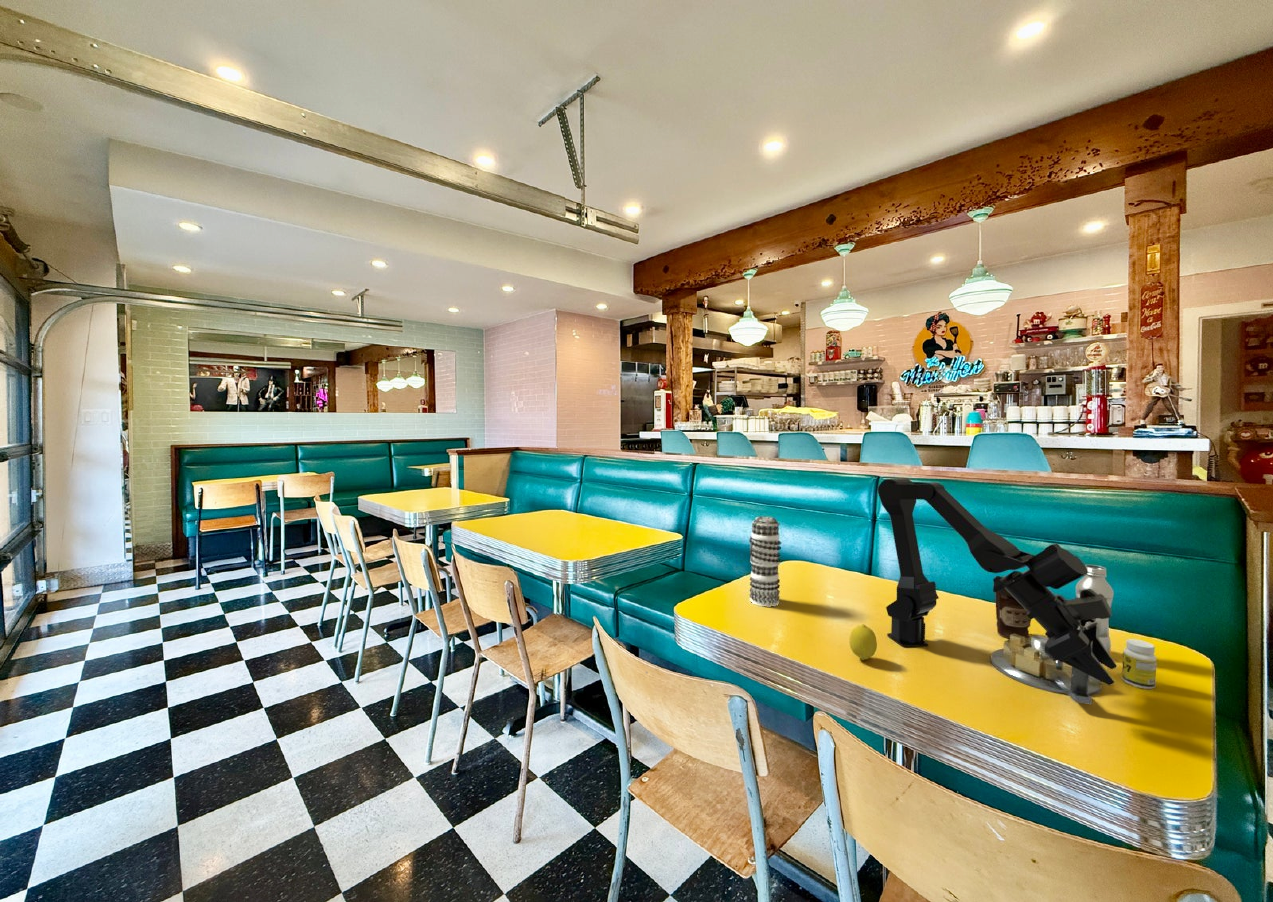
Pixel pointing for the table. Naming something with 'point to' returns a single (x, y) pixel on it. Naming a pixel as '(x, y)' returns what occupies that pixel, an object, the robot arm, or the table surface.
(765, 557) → the decorative candle
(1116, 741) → the table surface
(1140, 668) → the supplement bottle
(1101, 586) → the plastic bottle
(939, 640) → the table surface
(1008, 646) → the tan toy bricks
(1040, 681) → the cap flange
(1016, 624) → the coffee cup
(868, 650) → the lemon
